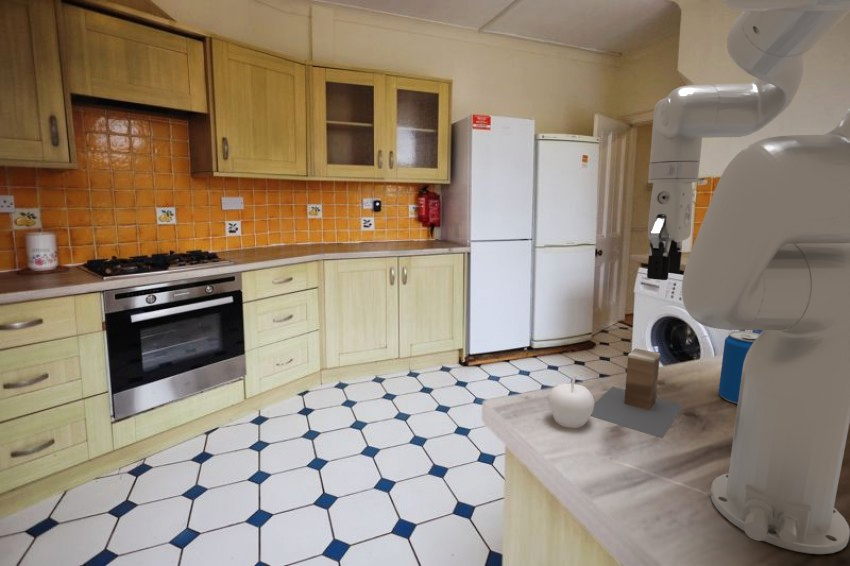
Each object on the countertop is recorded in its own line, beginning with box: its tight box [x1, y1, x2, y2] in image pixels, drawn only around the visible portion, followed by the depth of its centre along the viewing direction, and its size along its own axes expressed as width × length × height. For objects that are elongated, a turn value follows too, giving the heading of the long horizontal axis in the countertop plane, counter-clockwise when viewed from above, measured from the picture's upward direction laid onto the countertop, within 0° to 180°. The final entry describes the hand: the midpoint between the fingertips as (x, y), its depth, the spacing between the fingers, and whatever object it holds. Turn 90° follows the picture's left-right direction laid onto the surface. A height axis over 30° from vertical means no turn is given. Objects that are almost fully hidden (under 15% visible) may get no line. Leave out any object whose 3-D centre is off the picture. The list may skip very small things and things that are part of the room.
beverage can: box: [717, 330, 760, 405], centre depth 80 cm, size 6×6×12 cm
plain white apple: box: [547, 375, 595, 429], centre depth 73 cm, size 7×7×8 cm
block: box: [624, 348, 661, 411], centre depth 78 cm, size 4×4×9 cm
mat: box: [590, 386, 685, 439], centre depth 77 cm, size 14×12×1 cm
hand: (663, 275), depth 81 cm, fingers open, 7 cm apart
